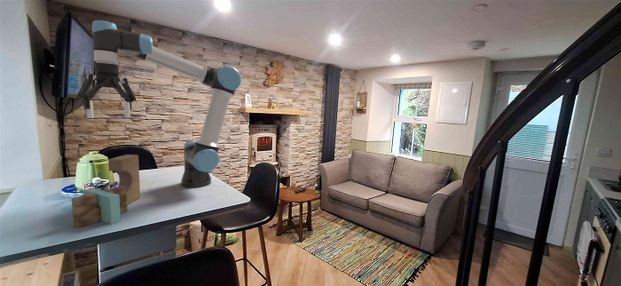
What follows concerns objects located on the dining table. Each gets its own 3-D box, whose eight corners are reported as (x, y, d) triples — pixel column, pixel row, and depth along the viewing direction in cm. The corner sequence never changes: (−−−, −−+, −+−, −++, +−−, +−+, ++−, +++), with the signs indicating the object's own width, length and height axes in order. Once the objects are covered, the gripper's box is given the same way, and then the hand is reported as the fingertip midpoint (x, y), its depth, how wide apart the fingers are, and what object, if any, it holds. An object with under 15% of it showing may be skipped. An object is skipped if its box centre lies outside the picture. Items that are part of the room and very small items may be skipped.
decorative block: (123, 207, 106) (121, 159, 103) (109, 206, 106) (107, 159, 103) (141, 197, 117) (139, 154, 114) (128, 197, 117) (126, 154, 114)
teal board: (84, 215, 97) (82, 189, 96) (93, 212, 100) (92, 187, 98) (111, 224, 91) (110, 197, 90) (120, 220, 94) (119, 194, 93)
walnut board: (122, 209, 103) (121, 186, 102) (127, 211, 102) (126, 187, 101) (73, 226, 89) (71, 198, 87) (78, 227, 88) (76, 199, 86)
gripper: (132, 68, 114) (134, 116, 117) (61, 57, 91) (66, 117, 94) (144, 68, 111) (146, 117, 114) (73, 56, 88) (78, 118, 91)
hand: (110, 117), depth 104 cm, fingers open, 13 cm apart
